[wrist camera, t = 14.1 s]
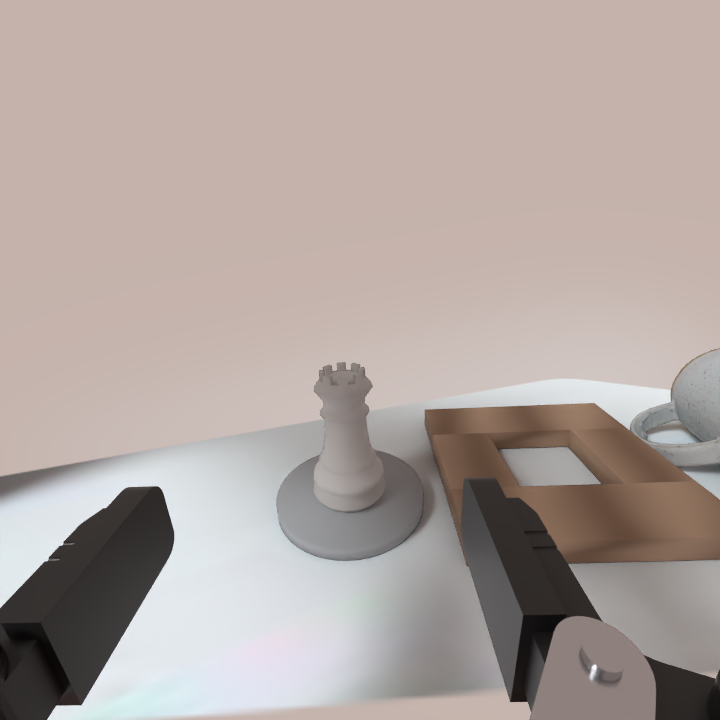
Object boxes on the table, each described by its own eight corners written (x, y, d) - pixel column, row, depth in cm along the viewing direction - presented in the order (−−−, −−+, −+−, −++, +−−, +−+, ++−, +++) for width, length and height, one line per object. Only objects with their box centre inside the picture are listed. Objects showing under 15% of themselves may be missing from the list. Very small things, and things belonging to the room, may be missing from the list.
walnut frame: (467, 565, 18) (468, 543, 18) (424, 424, 32) (424, 409, 31) (757, 558, 18) (766, 535, 17) (591, 418, 31) (593, 403, 31)
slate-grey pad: (260, 562, 19) (258, 551, 19) (292, 459, 28) (291, 450, 27) (435, 558, 19) (435, 546, 19) (413, 455, 27) (413, 446, 27)
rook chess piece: (384, 519, 20) (380, 386, 18) (306, 515, 21) (290, 386, 18) (387, 469, 25) (384, 356, 22) (322, 467, 25) (311, 357, 23)
